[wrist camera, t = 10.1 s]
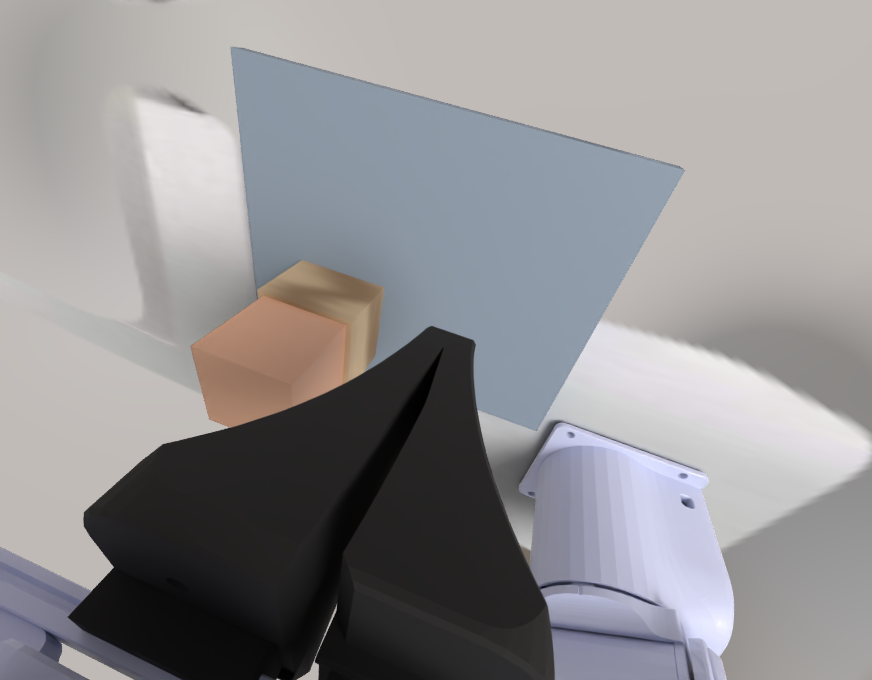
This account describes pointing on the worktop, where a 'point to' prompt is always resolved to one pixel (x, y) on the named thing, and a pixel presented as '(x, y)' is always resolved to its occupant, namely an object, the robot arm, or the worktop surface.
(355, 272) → the board
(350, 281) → the oak base block
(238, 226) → the worktop surface
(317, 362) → the terracotta block
